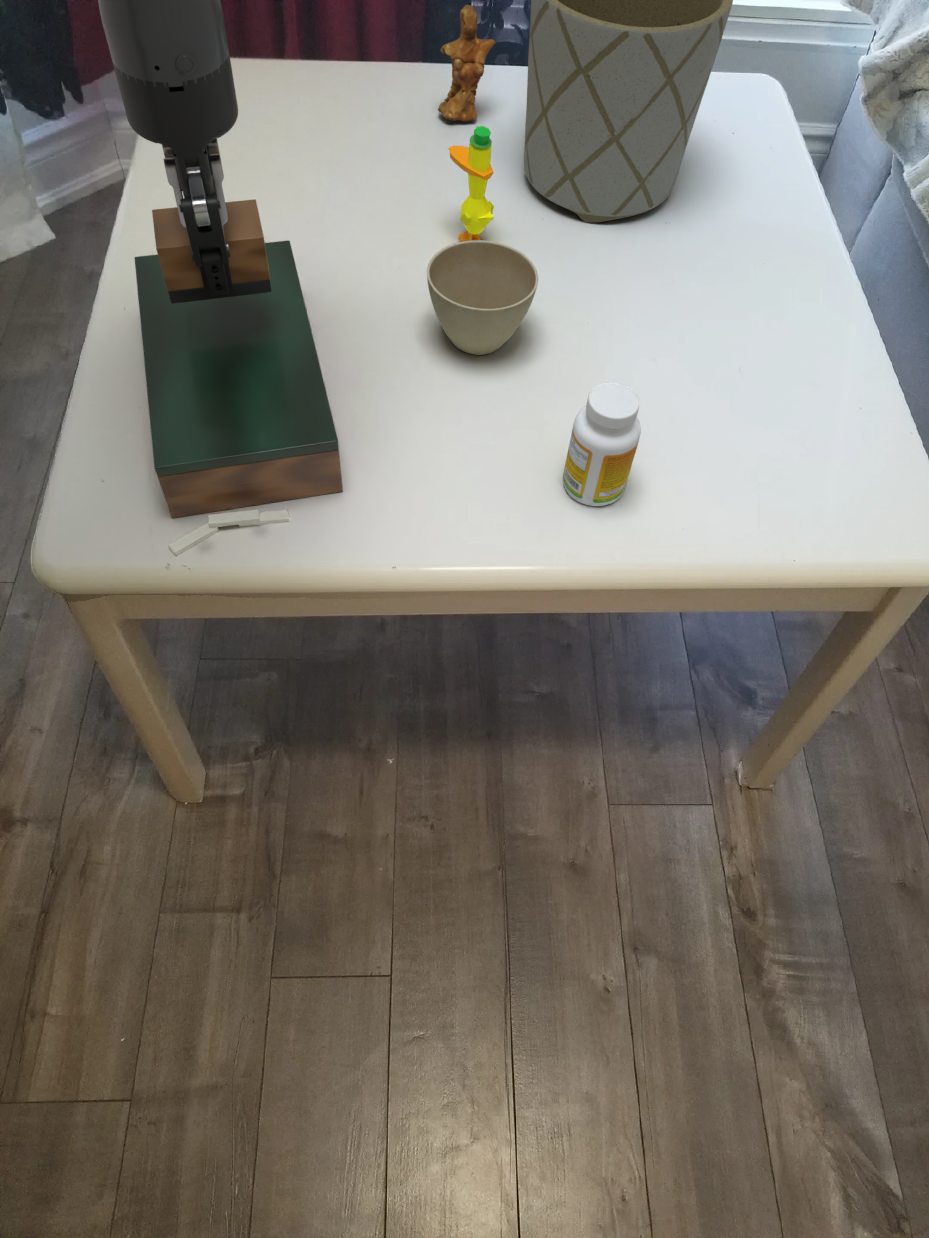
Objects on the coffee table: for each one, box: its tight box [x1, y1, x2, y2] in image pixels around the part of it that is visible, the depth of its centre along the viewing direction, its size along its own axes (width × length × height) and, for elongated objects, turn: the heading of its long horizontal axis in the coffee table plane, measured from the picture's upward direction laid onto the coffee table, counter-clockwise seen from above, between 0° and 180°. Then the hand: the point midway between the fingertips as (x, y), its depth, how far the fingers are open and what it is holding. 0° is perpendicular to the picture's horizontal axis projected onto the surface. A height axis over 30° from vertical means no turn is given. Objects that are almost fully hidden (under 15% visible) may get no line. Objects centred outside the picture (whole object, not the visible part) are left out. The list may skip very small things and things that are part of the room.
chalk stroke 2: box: [207, 509, 260, 528], centre depth 73 cm, size 4×1×1 cm, turn 101°
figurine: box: [437, 4, 496, 122], centre depth 104 cm, size 5×6×12 cm
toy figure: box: [447, 125, 495, 242], centre depth 91 cm, size 7×4×12 cm, turn 42°
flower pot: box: [426, 239, 539, 356], centre depth 85 cm, size 10×10×7 cm
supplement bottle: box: [562, 382, 642, 507], centre depth 74 cm, size 5×5×10 cm
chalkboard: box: [134, 239, 344, 519], centre depth 79 cm, size 14×26×6 cm, turn 14°
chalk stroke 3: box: [238, 509, 290, 527], centre depth 74 cm, size 4×1×1 cm, turn 99°
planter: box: [523, 0, 734, 224], centre depth 95 cm, size 19×19×20 cm
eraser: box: [151, 199, 272, 304], centre depth 72 cm, size 8×5×5 cm, turn 104°
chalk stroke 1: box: [168, 522, 219, 557], centre depth 73 cm, size 4×1×1 cm, turn 132°
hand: (216, 271), depth 74 cm, fingers closed on eraser, 5 cm apart
